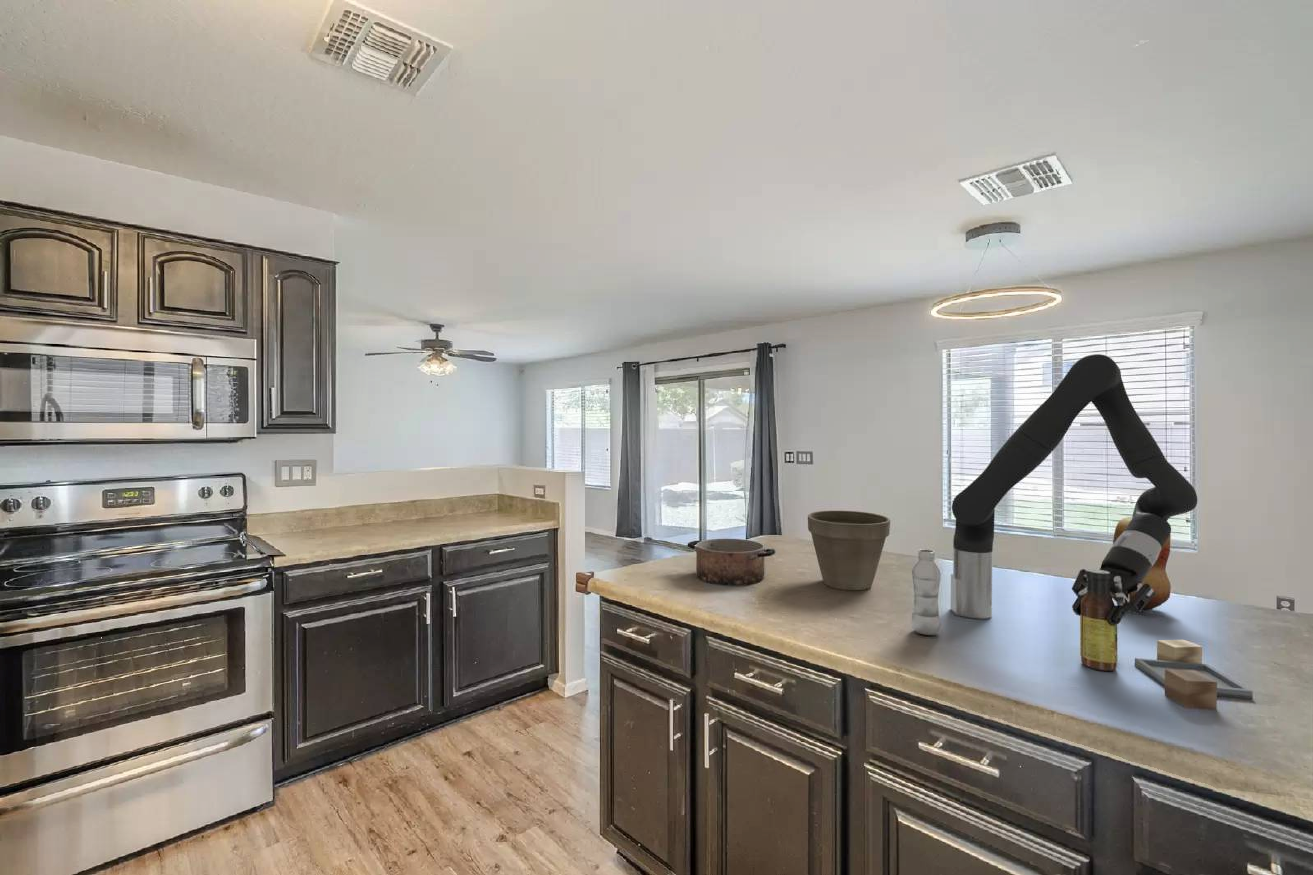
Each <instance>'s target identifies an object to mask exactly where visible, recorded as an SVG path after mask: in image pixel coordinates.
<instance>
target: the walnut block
mask: <svg viewBox="0 0 1313 875" xmlns="http://www.w3.org/2000/svg"><path fill="white" fill-rule="evenodd" d="M1164 696H1166V697H1167V698H1169V699H1170V700H1172V701H1174V702H1175V703H1177V704H1179V705H1181V706H1182V707H1183V708H1185V709H1199V710H1201V709H1202V710H1203V709H1204V710H1217V709H1218V708H1217V707H1218V706H1217V705H1218V703H1217V700H1218V696H1217V682H1216V681H1214V680H1213V679H1211V678H1209V677H1207V676H1205V675H1203V674H1201V673H1199V672H1197V671H1195V670H1178V669H1165V687H1164Z"/></svg>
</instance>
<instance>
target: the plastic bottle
mask: <svg viewBox="0 0 1313 875" xmlns="http://www.w3.org/2000/svg"><path fill="white" fill-rule="evenodd" d="M917 558H918V561H917V562H916V563H915V565H914V566H913V568H912V570H911V576H912V584H913V594H914V595H913V597H914V598H913V608H912V610H913V612H912V615H911V621H910V622H911V628H912V629H913V631H914V632H915V633H917V634H920V635H924V636H925V635H926V636H934V635H935V636H936V635H938V633H939V632H940V629H941V618H940V615H939V612H940V611H939V591H940V590H939V589H940V584H941V578H942V577H941V575H942V574H941V570H940V569H939V566H938V565H937V564H936V563H935V560H936V555H935V551H934V550H930V549H918V554H917Z"/></svg>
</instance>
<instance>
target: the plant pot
mask: <svg viewBox="0 0 1313 875" xmlns="http://www.w3.org/2000/svg"><path fill="white" fill-rule="evenodd" d="M807 530H808V532H809V533H811V539H812V543H813V547H814V550H815V555H816V558H817V559H816V560H817V562H818V567H819V572H820V574H821V577H822V580H823V583H824V585H826V586H828V587H830V588H833V589H837V590H843V591H864V590H868V589H870V588H871V587H872V586H873V584H874V580H875V577H876V573H877V570H878V567H879V564H880V563H879V562H880V561H881V558H882V557H881V556H882V552H883V549H884V546H885V542H886V539H887V537H889V535H890V530H891V519H890V518H889V517H887V516H885V515H881V514H876V513H872V512H865V511H857V510H856V511H855V510H818V511H813V512H810V513H809V514H808V515H807Z"/></svg>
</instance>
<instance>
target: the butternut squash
mask: <svg viewBox="0 0 1313 875" xmlns="http://www.w3.org/2000/svg"><path fill="white" fill-rule="evenodd" d="M1132 517H1133V516H1128V517H1124V518H1122V519H1120V520H1119V521H1118V523H1117V524H1116V525H1115V528H1114V532H1113V533H1114V534H1113V539H1112V545H1113V544H1114V543H1115V541H1116V540H1117V539H1118V537H1119V536H1120V535H1121V534H1122V533H1123V532H1124V530H1125V529H1126V527H1127V525H1128V524H1129V522H1130V521H1131V520H1132ZM1171 538H1172V535H1171V534H1170V536H1169V537H1168V539H1167V541H1166V543H1165V544H1164V546H1163V547H1162V549H1161V551H1160V553H1159V556H1158V558H1157V560H1156V562H1155V563H1154V565H1153V566H1152V568H1151V570H1150V571H1149V573H1148V574H1147V576H1146V578H1145V579H1144V581H1143V582H1142V583H1141V584H1149V585H1150V586H1151V587H1152V589H1153V590H1154V592H1155V595H1154V596H1153V597H1152V598H1151V600H1150V601H1149V602H1148V603H1147V604H1146V606H1145V607H1144V608H1143V609H1142V610H1141V611H1142V612H1143V611H1152V610H1153V609H1156V608H1157V607H1161V606H1162V605H1163V604H1164V603H1166V602H1167V601H1168V599H1170V596H1171V590H1172V589H1171V588H1172V585H1171V581H1170V579H1169V577H1168V574H1167V572H1166V568H1167V562H1168V559H1169V557H1170V554H1171ZM1136 593H1137V591H1135V592H1133V593H1130V594H1129V599H1130V600H1131V599H1132V597H1133V596H1134V595H1135V594H1136ZM1111 597H1112V599H1113V601H1115V602H1116V603H1117V598H1116V597H1113V596H1111Z"/></svg>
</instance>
